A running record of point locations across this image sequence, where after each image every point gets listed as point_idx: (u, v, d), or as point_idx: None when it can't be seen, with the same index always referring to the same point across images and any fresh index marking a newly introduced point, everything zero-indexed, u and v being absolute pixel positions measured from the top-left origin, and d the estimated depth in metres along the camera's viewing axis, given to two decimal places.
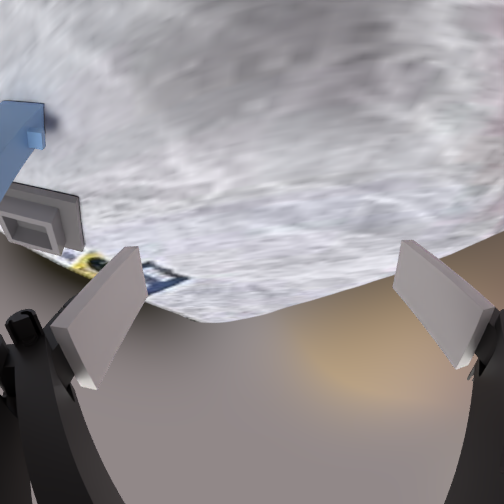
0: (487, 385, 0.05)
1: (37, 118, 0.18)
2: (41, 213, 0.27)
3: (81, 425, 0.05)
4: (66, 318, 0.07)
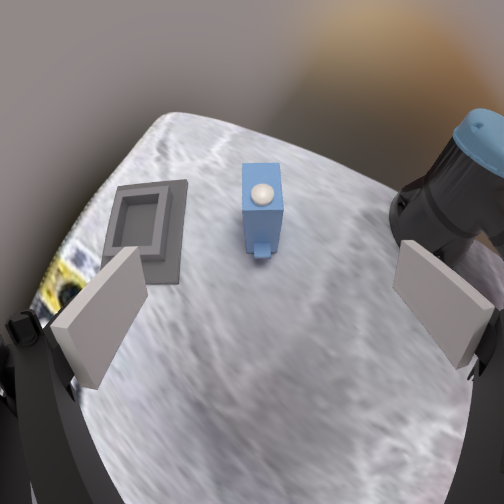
0: (487, 385, 0.05)
1: None
2: (163, 242, 0.35)
3: (81, 425, 0.05)
4: (66, 318, 0.07)
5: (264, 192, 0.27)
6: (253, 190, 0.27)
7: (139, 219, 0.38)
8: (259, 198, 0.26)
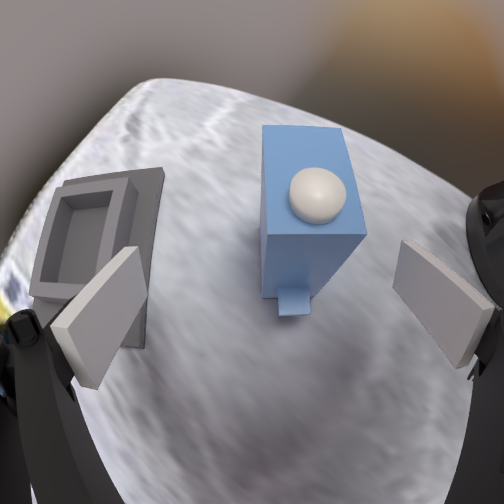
0: (487, 385, 0.05)
1: None
2: None
3: (81, 425, 0.05)
4: (66, 318, 0.07)
5: (323, 189, 0.10)
6: (295, 183, 0.10)
7: (86, 234, 0.22)
8: (312, 204, 0.10)
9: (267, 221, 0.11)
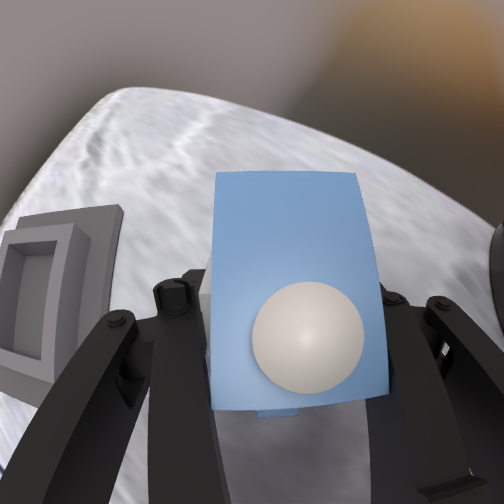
0: None
1: None
2: (64, 351, 0.13)
3: None
4: None
5: (319, 336, 0.05)
6: (263, 324, 0.05)
7: (38, 287, 0.16)
8: (294, 374, 0.05)
9: (212, 383, 0.05)
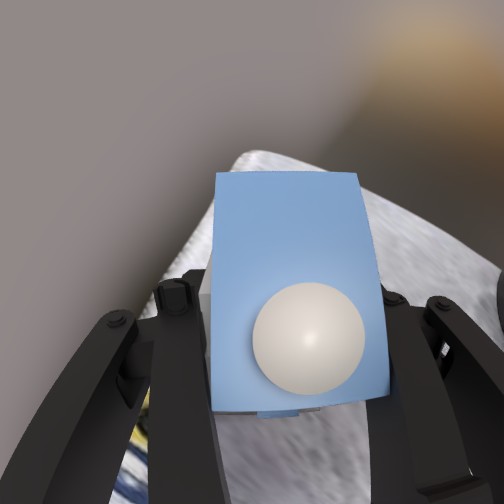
0: None
1: None
2: None
3: (210, 404, 0.07)
4: None
5: (320, 337, 0.05)
6: (263, 325, 0.05)
7: None
8: (295, 375, 0.05)
9: (212, 384, 0.05)
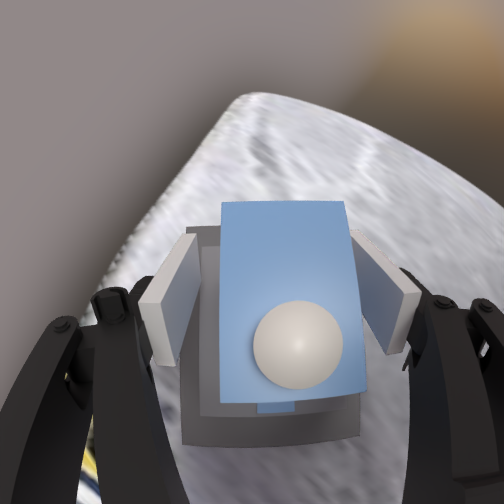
0: (424, 379, 0.06)
1: None
2: None
3: (157, 409, 0.06)
4: (154, 295, 0.08)
5: (306, 344, 0.06)
6: (262, 335, 0.06)
7: None
8: (286, 373, 0.06)
9: (221, 381, 0.07)
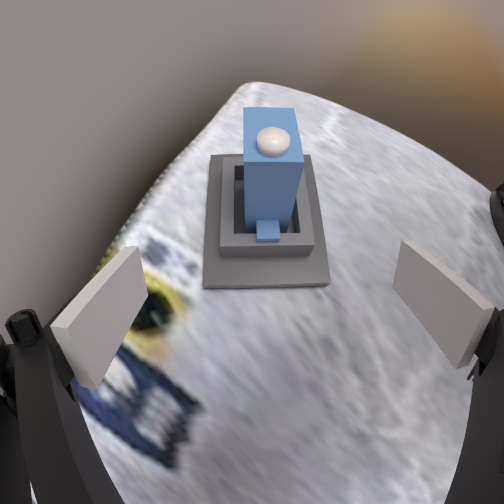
0: (487, 385, 0.05)
1: None
2: None
3: (81, 425, 0.05)
4: (66, 318, 0.07)
5: (276, 137, 0.17)
6: (260, 134, 0.17)
7: None
8: (269, 144, 0.17)
9: (244, 156, 0.18)
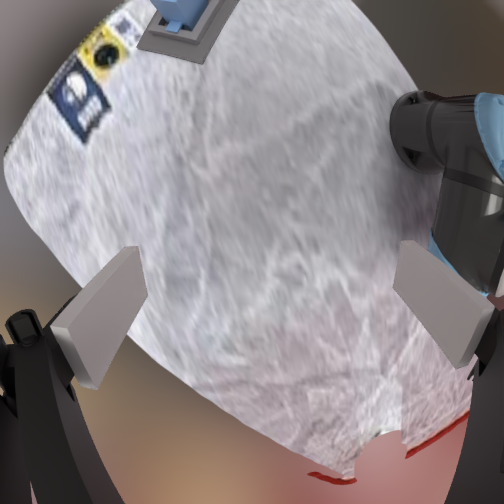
0: (487, 385, 0.05)
1: (185, 27, 0.30)
2: (203, 31, 0.31)
3: (81, 425, 0.05)
4: (66, 318, 0.07)
5: None
6: None
7: None
8: None
9: None
